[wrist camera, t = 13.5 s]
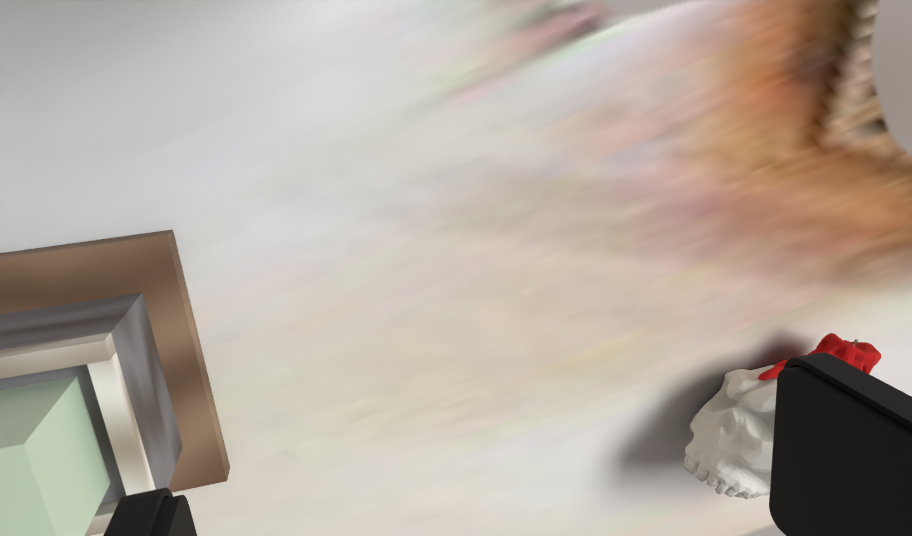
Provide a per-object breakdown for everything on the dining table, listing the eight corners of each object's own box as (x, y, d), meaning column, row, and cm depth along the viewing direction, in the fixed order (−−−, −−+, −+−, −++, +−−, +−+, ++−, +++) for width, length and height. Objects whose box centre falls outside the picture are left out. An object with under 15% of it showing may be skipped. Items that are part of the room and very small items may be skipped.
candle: (650, 443, 48) (761, 278, 48) (744, 506, 51) (847, 352, 52) (733, 506, 39) (868, 305, 39) (838, 576, 43) (962, 392, 43)
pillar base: (-103, 267, 34) (-229, 325, 26) (172, 229, 36) (134, 271, 28) (-7, 515, 39) (-89, 628, 31) (229, 467, 41) (210, 559, 33)
